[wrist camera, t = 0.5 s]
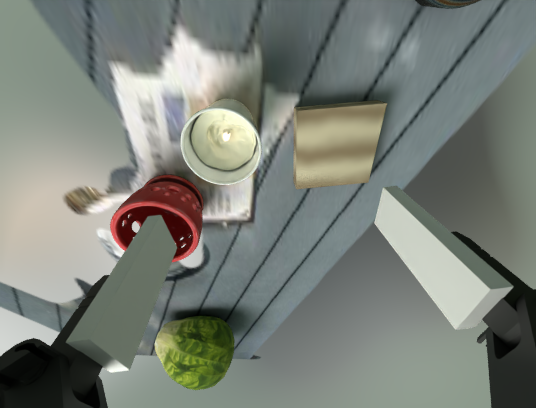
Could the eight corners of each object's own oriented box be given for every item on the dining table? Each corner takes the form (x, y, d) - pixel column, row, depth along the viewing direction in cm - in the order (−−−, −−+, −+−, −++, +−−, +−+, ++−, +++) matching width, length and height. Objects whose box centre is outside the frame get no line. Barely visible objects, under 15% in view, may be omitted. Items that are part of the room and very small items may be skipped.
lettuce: (174, 293, 62) (136, 369, 48) (248, 318, 65) (230, 395, 52) (170, 313, 74) (138, 378, 61) (232, 333, 78) (214, 399, 64)
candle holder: (266, 105, 34) (272, 123, 24) (249, 159, 39) (249, 192, 29) (205, 83, 32) (184, 94, 22) (196, 144, 37) (176, 174, 27)
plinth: (294, 107, 35) (297, 110, 32) (377, 100, 35) (387, 103, 32) (293, 181, 43) (296, 189, 40) (361, 175, 43) (368, 182, 40)
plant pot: (201, 227, 48) (188, 271, 38) (138, 210, 44) (106, 254, 34) (217, 181, 41) (207, 219, 32) (146, 156, 38) (109, 190, 28)
